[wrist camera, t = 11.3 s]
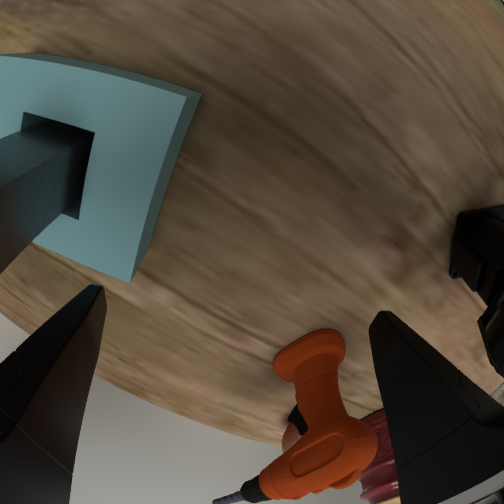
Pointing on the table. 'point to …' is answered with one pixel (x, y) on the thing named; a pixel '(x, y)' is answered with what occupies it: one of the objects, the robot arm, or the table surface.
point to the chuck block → (102, 150)
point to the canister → (380, 466)
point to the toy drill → (313, 427)
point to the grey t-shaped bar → (39, 181)
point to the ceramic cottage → (499, 395)
